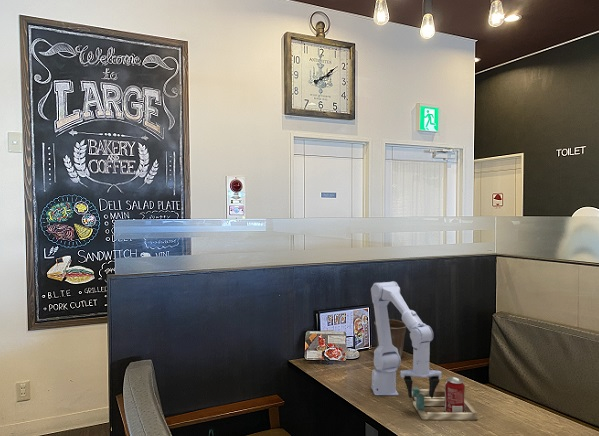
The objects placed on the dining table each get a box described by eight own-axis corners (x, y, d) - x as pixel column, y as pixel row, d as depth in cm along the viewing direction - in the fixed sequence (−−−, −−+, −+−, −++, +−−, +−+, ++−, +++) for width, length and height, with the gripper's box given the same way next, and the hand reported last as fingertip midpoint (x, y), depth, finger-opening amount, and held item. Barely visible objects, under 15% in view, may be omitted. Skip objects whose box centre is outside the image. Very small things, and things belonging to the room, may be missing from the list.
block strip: (416, 403, 173) (416, 392, 173) (410, 394, 181) (410, 384, 181) (455, 403, 173) (455, 393, 173) (448, 394, 181) (448, 384, 181)
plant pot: (412, 360, 222) (412, 327, 221) (380, 361, 218) (381, 328, 218) (398, 349, 237) (399, 318, 237) (369, 350, 234) (369, 319, 234)
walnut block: (435, 401, 175) (435, 391, 175) (432, 397, 179) (432, 387, 179) (445, 401, 175) (446, 391, 175) (442, 397, 179) (442, 387, 179)
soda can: (465, 417, 162) (466, 384, 162) (445, 415, 164) (446, 382, 163) (462, 409, 169) (463, 377, 168) (443, 407, 170) (444, 375, 170)
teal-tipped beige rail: (421, 419, 160) (422, 402, 160) (412, 404, 172) (413, 388, 172) (477, 419, 160) (477, 402, 160) (464, 404, 172) (464, 389, 172)
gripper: (404, 363, 161) (403, 401, 162) (444, 363, 161) (444, 401, 162) (399, 356, 168) (398, 393, 169) (438, 356, 169) (437, 393, 169)
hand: (420, 396), depth 166 cm, fingers open, 7 cm apart
